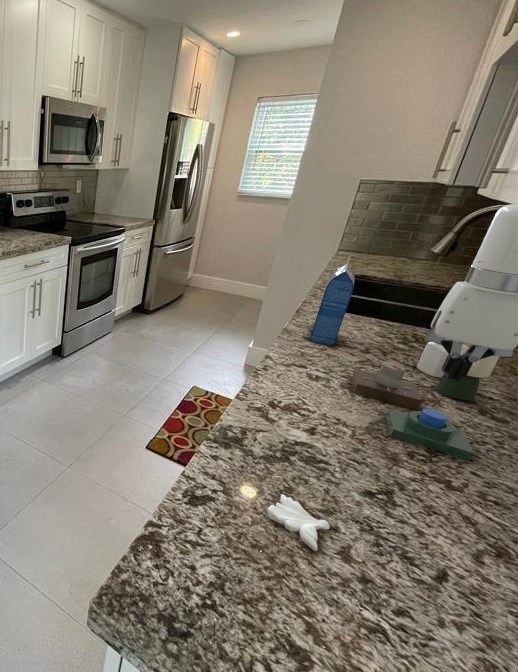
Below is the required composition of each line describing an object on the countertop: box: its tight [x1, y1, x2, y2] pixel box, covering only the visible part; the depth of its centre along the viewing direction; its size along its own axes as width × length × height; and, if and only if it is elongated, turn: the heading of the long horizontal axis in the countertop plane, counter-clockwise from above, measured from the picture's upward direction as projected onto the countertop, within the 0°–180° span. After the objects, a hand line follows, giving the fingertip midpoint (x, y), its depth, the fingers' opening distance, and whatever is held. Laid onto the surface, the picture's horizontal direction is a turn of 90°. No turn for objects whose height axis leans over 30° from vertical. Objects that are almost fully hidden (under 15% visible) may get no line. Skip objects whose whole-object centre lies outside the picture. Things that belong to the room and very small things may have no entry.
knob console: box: [351, 368, 423, 411], centre depth 94 cm, size 11×9×3 cm
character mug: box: [436, 343, 501, 402], centre depth 93 cm, size 11×7×13 cm, turn 136°
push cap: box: [418, 408, 449, 428], centre depth 78 cm, size 4×4×2 cm
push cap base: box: [384, 408, 475, 461], centre depth 79 cm, size 11×9×4 cm
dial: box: [376, 361, 407, 388], centre depth 93 cm, size 4×4×5 cm
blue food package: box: [308, 256, 356, 347], centre depth 120 cm, size 6×12×25 cm, turn 140°
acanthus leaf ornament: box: [266, 493, 331, 552], centre depth 59 cm, size 8×7×2 cm
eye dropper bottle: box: [416, 341, 448, 378], centre depth 103 cm, size 4×6×12 cm
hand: (451, 376), depth 75 cm, fingers closed
